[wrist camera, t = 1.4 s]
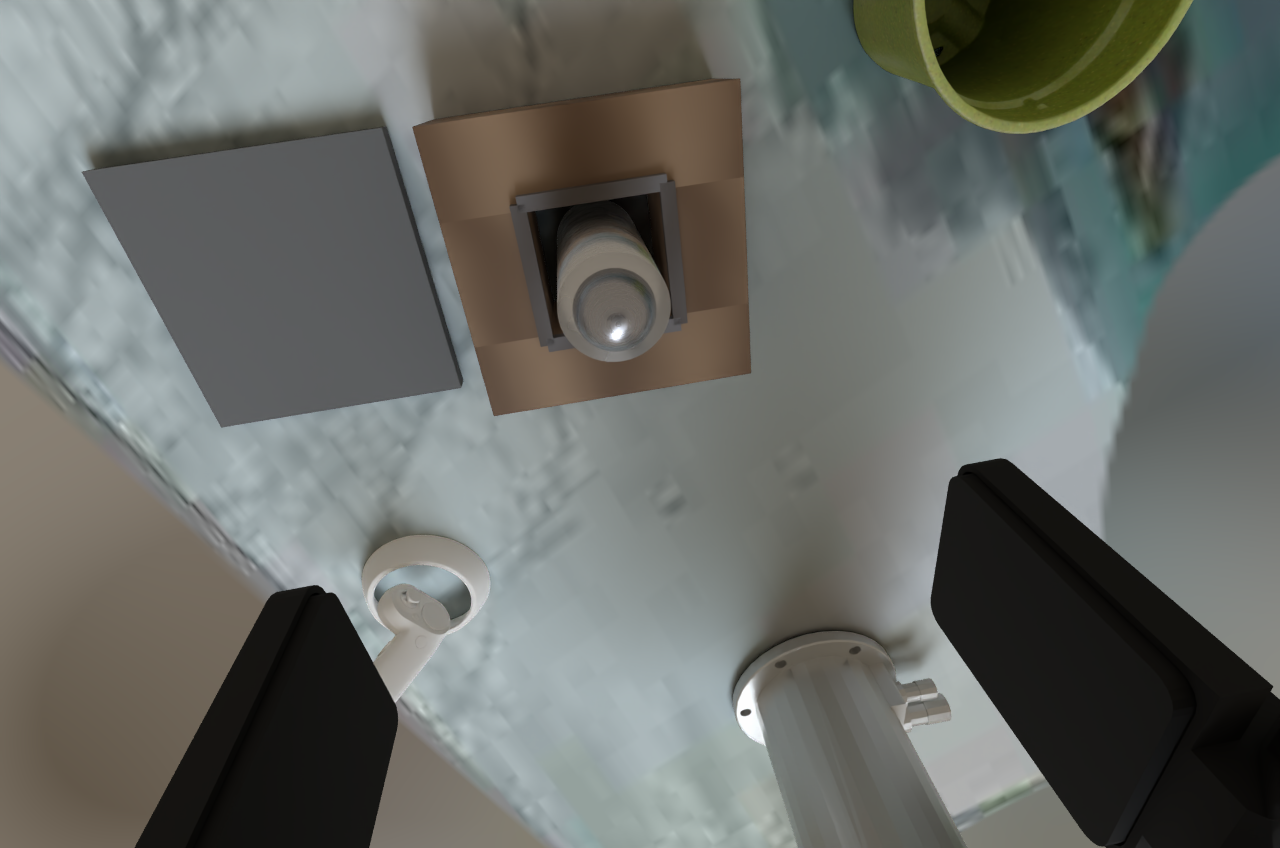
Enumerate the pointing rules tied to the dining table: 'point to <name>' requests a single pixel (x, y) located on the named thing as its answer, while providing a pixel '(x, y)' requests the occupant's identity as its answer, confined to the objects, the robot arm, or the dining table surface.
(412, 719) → the dining table surface
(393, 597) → the white ring with handle
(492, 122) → the block
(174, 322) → the mat
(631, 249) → the steel peg
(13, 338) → the dining table surface
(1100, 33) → the plant pot
